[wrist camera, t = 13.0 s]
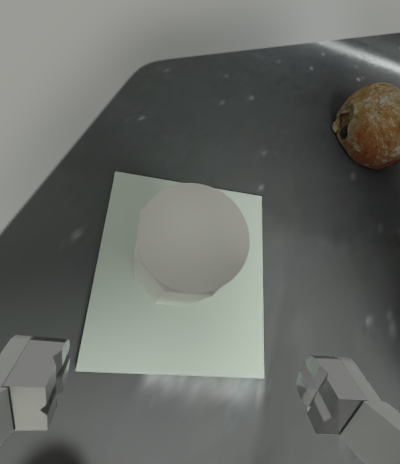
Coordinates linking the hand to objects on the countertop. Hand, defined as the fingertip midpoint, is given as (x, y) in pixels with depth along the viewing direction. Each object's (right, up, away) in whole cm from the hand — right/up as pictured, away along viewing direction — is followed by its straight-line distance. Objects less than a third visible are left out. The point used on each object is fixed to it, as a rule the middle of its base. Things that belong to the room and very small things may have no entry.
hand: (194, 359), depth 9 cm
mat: (-1, +1, +14) cm, 14 cm away
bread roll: (+21, +16, +25) cm, 37 cm away
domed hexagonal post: (-2, +1, +13) cm, 14 cm away
